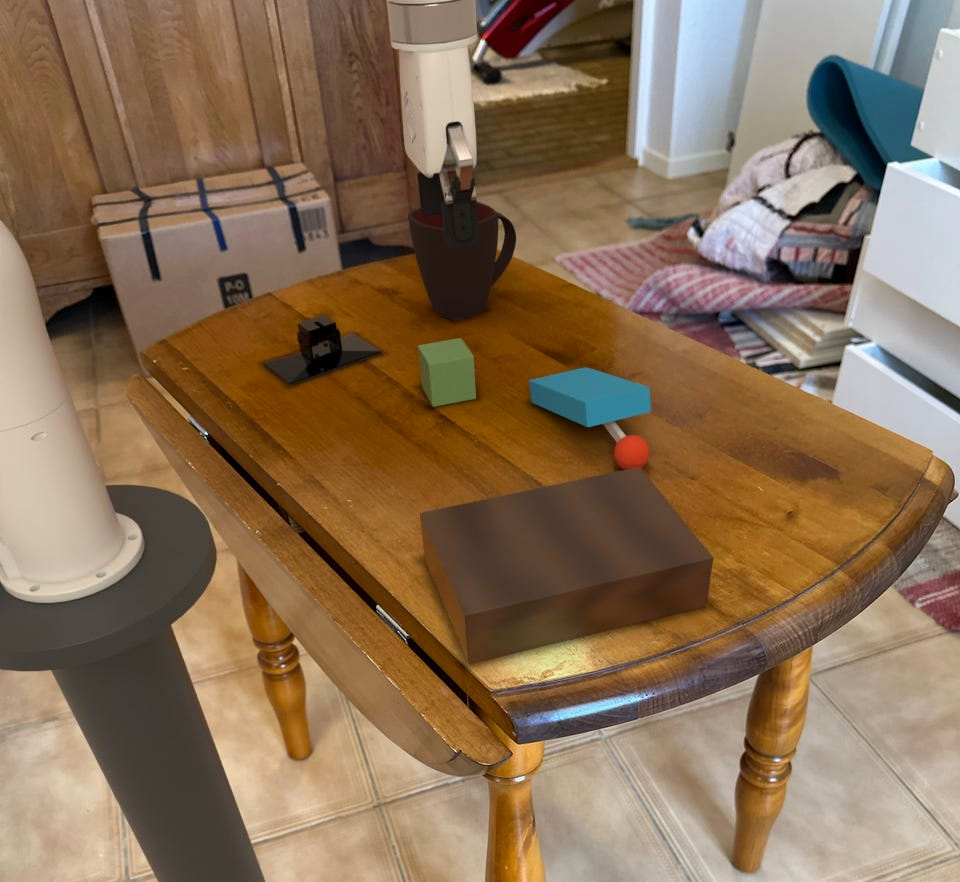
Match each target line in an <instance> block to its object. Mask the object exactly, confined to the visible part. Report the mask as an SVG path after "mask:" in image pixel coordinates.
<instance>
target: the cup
mask: <svg viewBox="0 0 960 882" xmlns="http://www.w3.org/2000/svg"><path fill="white" fill-rule="evenodd" d="M407 217H408V218H407V219H408V226H409V233H410V239H411V244H412V248H413V252H414V255H415V260H416V264H417V267H418V270H419V273H420V277H421V280H422V283H423V286H424V289H425V291H426V295H427V296H428V299H429V302H430V304H431V307H432V309H433V311H434V312H435V313H436V314H437V315H439V316H441V317H443V318H445V319H448V320H452V321H461V320H465V319H469V318H472V317H475V316H477V315H479V314H481V313H482V312H484V311H485V309H486V307H487V304H488V301H489V296H490V293H491V288H492V287H493V286H494V285H495V284H496V283H497V282H498V280H499V279H500V278H501V277H502V276H503V274H504V273H505V271H506V270H507V268H508V266H509V265H510V263H511V260H512V258H513V256H514V253H515V249H516V245H517V233H516V229H515V226H514V224H513V223H512V221H511V220H510V219H509V218H508V217H506V216H505V215H503V214H502V213H501V212H498V211H496V210H495V209H494V208H493V207H491V206H490V205H488V204H485V203H483V202H479V201H477V217H478V234H479V241H478V243H477V244H474V245H468V246H462V247H456V248H447V246H446V245H445V240H444V228H443V216H442V214H435V215H429V216H424V215H423V214H422V213H421V209H420V207H418V208H416V209H414V210H412V211H410V212H408V215H407ZM499 220H500V221H501V223H502V227H503V232H504V236H503V242H502V246H501V250H500V253H499V255H498V257H497V253H498V243H499ZM496 258H497V259H496Z"/></svg>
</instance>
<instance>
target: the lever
mask: <svg viewBox="0 0 960 882" xmlns="http://www.w3.org/2000/svg"><path fill="white" fill-rule="evenodd" d="M528 384H529V392H530V402H531V403H532V404H534V405H536V406H538V407H541V408H543V409H545V410H548V411H550V412H552V413H554V414H556V415H559V416H561V417H563V418H565V419H568V420H571V421H572V422H575V423H577V424H580V425H582V426H584V427H585V428H591V427H595V426H600V425H603V426H604V428H605V429H606V431H607V432H608V434H610V436H611V437H612V438H613V440H614V441H615V443H616V445H615V447H614V450H613V456H614V457H613V458H614V460H615V462H616V465H618V466H619V468H621V469H622V470H627V469H632V468H637V467H640V468H641V469H642V468H643V467H645V465H646V464H647V463H648V462H649V458H650V457H651V456H650V453H651V452H650V447H649V445H648V442H647V441H646V439H644V438H643V437H641V436H639V435H636V434H630V435H626V434H625V433H624V431H623V430H622V429H621V427H620V425H618V423H617V422H616V421H620V420H623V419H628V418H632V417H635V416H641V415H645V414H648V413H651V412H652V405H651V390H650V386H647V385H645V384H641V383H638V382H635V381H632V380H629V379H625V378H622V377H619V376H615V375H613V374H609V373H606V372H603V371H600V370H598V369H593V368H590V367H587V366H586V367H580V368H576V369H572V370H567V371H563V372H558V373H555V374H550V375H546V376H540V377H537V378H533V379H529V380H528Z"/></svg>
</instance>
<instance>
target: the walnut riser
mask: <svg viewBox="0 0 960 882" xmlns="http://www.w3.org/2000/svg"><path fill="white" fill-rule="evenodd" d="M419 521H420V528H421V529H420V530H421V537H422V539H421V540H422V546H423V555H424V562H425V565H426V566H427V568H428V571H429V573H430V576H431V578H432V580H433V583H434V585H435V588H436V590H437V592H438V594H439V595H438V596H439V597H440V599H441V602H442V604H443V606H444V609H445V611H446V613H447V617H448V618H449V621H450V623H451V626H452V628H453V630H454V633H455V635H456V637H457V640H458V643H459V645H460V647H461V649H462V651H463V654H464V657H465V659H466V661H467V664H468V665H470V664H475V663H480V662H483V661H488V660H492V659H496V658H500V657H505V656H509V655H512V654H513V655H514V654H517V653H521V652H525V651H530V650H533V649H537V648H541V647H546V646H549V645H553V644H558V643H562V642H563V643H564V642H566V641H571V640H575V639H580V638H583V637H587V636H591V635H596V634H599V633H603V632H607V631H611V630H612V631H613V630H616V629H620V628H624V627H628V626H633V625H637V624H641V623H645V622H649V621H654V620H657V619H661V618H666V617H669V616H674V615H678V614H683V613H686V612H690V611H695V610H698V609H703V608H707V604H708V596H709V589H710V583H711V578H712V577H711V576H712V572H713V564H714V556H713V555H712V554H711V552H710V551H709V550H708V549H707V547H706V546H704V544H703V543H702V542H701V540H700V539H699V538H698V537H697V535H696V534H695V533H694V532H693V531H692V529H691V528H690V527H689V526H688V524H687V523H686V522H685V521H684V519H683V518H682V517H681V516H680V514H679V512H677V511H676V510H675V508H674V507H673V506H672V505H671V504H670V502H669V501H668V500H667V498H666V497H665V496H664V495H663V494H662V493H661V491H660V490H659V489H658V488H657V487H656V485H655V484H654V482H653V481H652V480H651V479H650V478H649V476H648V475H647V474H646V473H645V471H644V470H643V469H642V468H640V467H637V468H632V469H627V470H624V469H622V470H619V471H618V470H617V471H614V472H609V473H604V474H600V475H594V476H589V477H584V478H580V479H575V480H571V481H566V482H560V483H557V484H556V483H555V484H552V485H547V486H542V487H537V488H533V489H528V490H523V491H518V492H514V493H509V494H504V495H500V496H499V495H498V496H494V497H489V498H485V499H480V500H475V501H470V502H467V503H461V504H456V505H451V506H446V507H442V508H437V509H433V510H432V509H431V510H427V511H423V512H420V513H419Z"/></svg>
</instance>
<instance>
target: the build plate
mask: <svg viewBox="0 0 960 882" xmlns="http://www.w3.org/2000/svg"><path fill="white" fill-rule="evenodd" d="M297 329H298V331H296V336H297V337H296V340H297V342H298V346H299V350H296V351H294V352H291V353H287V354H285V355H282V356H279V357H276V358H272V359H269V360H267V361H264V362H263V365H264V367H265V368H266V369H268V370H269V371H270V372H272V373H273V374H275V376H277V377H278V378H280V379H281V380H282V381H283V382H285V383H286V384H288V385H289V386H295V385H297V384H300V383H303V382H305V381H308V380H311V379H314V378H316V377H320V376H322V375H325V374H329V373H331V372H334V371H336V370H339V369H341V368H344V367H348V366H351V365H353V364H356V363H360V362H362V361H365V360H367V359H370V358H374V357H376V356H379V355H381V354H382V352H381V351H382V350H381V349H379V348H377V347H376V346H374V345H372V344H371V343H369V342H368V341H367V340H365V339H363V338H361V337H360V336H358V335H357V334H355V333H353V332H350V333H346V334H344V335H341V332H340V328H338V327H337V322H336V321H334V320H333V319H331V318H330V317H328V316H327V315H325V314H323V315H319V316H317V317H313V318H310V319H307V320H304V321H300V322H298V323H297Z"/></svg>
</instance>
